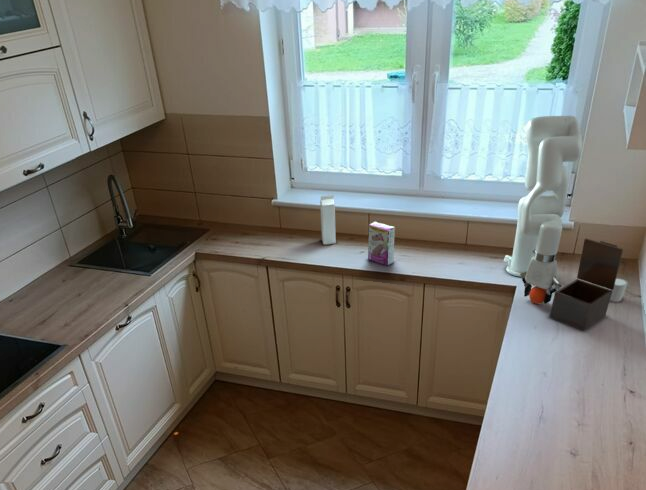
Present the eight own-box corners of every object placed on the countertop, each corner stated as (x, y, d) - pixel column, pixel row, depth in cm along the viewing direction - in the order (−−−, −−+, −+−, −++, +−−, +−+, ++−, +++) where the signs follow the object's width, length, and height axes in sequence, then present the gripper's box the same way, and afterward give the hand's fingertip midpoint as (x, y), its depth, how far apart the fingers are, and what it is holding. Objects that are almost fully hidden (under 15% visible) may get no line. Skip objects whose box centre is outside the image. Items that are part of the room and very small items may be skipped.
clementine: (521, 300, 231) (524, 283, 226) (535, 295, 233) (538, 279, 229) (536, 308, 225) (540, 291, 221) (550, 304, 227) (554, 287, 223)
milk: (321, 240, 288) (319, 194, 275) (333, 238, 288) (332, 193, 275) (323, 244, 283) (321, 198, 270) (336, 243, 284) (334, 197, 270)
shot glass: (624, 302, 225) (629, 286, 221) (605, 302, 227) (610, 285, 222) (621, 294, 231) (626, 278, 226) (602, 293, 232) (606, 277, 228)
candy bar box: (367, 260, 267) (367, 224, 257) (374, 256, 270) (374, 221, 260) (387, 266, 261) (388, 230, 251) (394, 262, 264) (395, 226, 254)
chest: (584, 330, 211) (591, 304, 205) (549, 317, 219) (555, 292, 213) (605, 316, 218) (612, 290, 212) (571, 303, 227) (577, 278, 220)
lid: (622, 249, 201) (630, 244, 203) (584, 239, 210) (592, 233, 212) (612, 290, 211) (619, 284, 214) (576, 278, 220) (584, 272, 222)
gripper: (519, 252, 221) (511, 295, 232) (561, 266, 210) (551, 310, 221) (530, 246, 225) (522, 288, 235) (572, 259, 214) (562, 303, 225)
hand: (536, 298), depth 228 cm, fingers closed on clementine, 8 cm apart
